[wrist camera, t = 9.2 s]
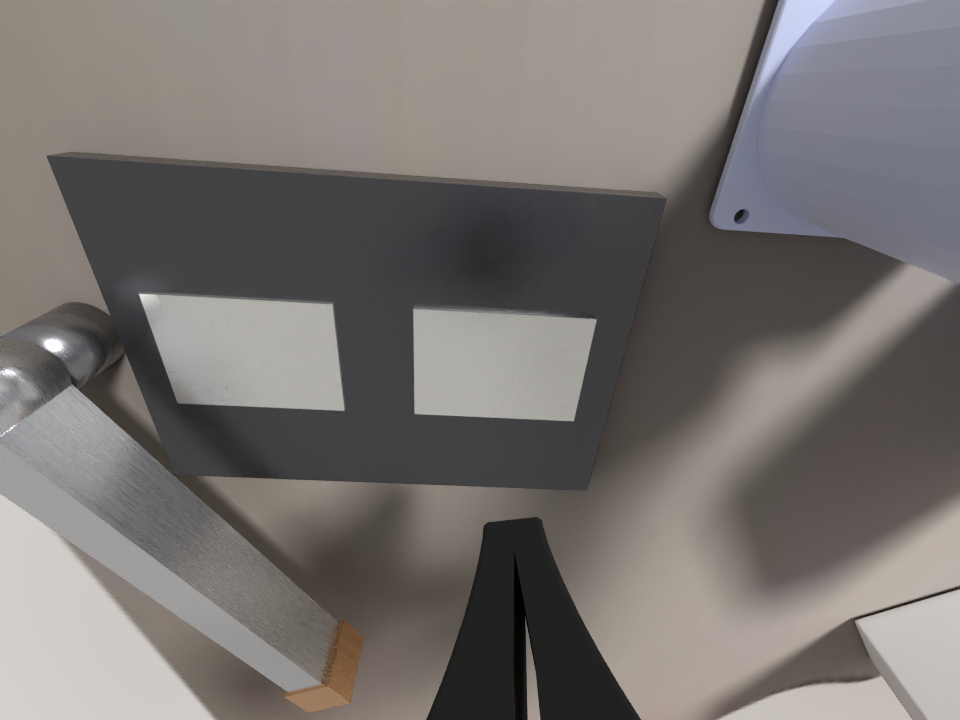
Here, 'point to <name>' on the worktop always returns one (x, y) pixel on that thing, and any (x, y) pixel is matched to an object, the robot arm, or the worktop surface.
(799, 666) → the worktop surface
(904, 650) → the milk carton
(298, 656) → the swing arm
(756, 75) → the robot arm
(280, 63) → the worktop surface
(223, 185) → the panel
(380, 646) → the worktop surface
